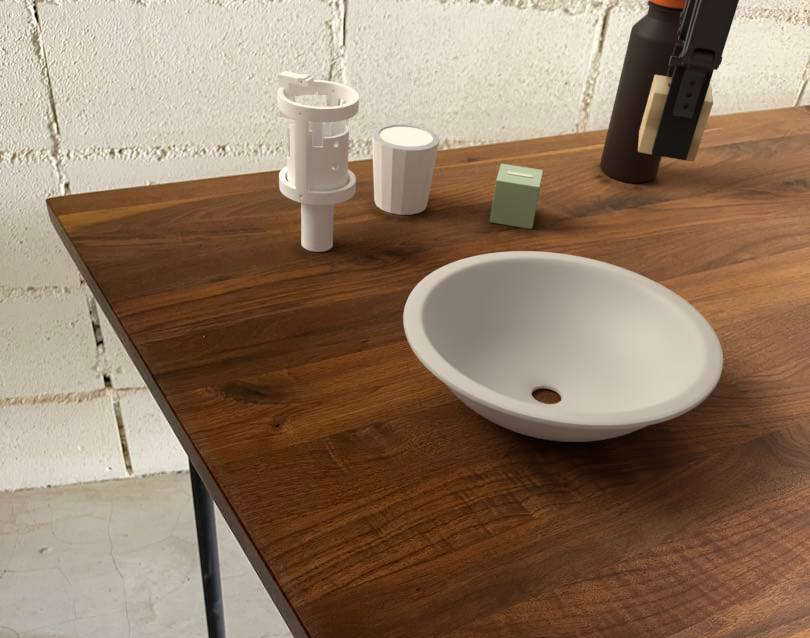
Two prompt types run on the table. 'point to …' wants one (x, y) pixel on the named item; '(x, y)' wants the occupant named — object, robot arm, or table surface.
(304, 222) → the white slotted cylindrical holder
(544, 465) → the table surface
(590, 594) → the table surface
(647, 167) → the bottle
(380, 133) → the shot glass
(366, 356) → the table surface
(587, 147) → the table surface
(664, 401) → the sink basin
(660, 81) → the maple block
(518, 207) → the sage block
